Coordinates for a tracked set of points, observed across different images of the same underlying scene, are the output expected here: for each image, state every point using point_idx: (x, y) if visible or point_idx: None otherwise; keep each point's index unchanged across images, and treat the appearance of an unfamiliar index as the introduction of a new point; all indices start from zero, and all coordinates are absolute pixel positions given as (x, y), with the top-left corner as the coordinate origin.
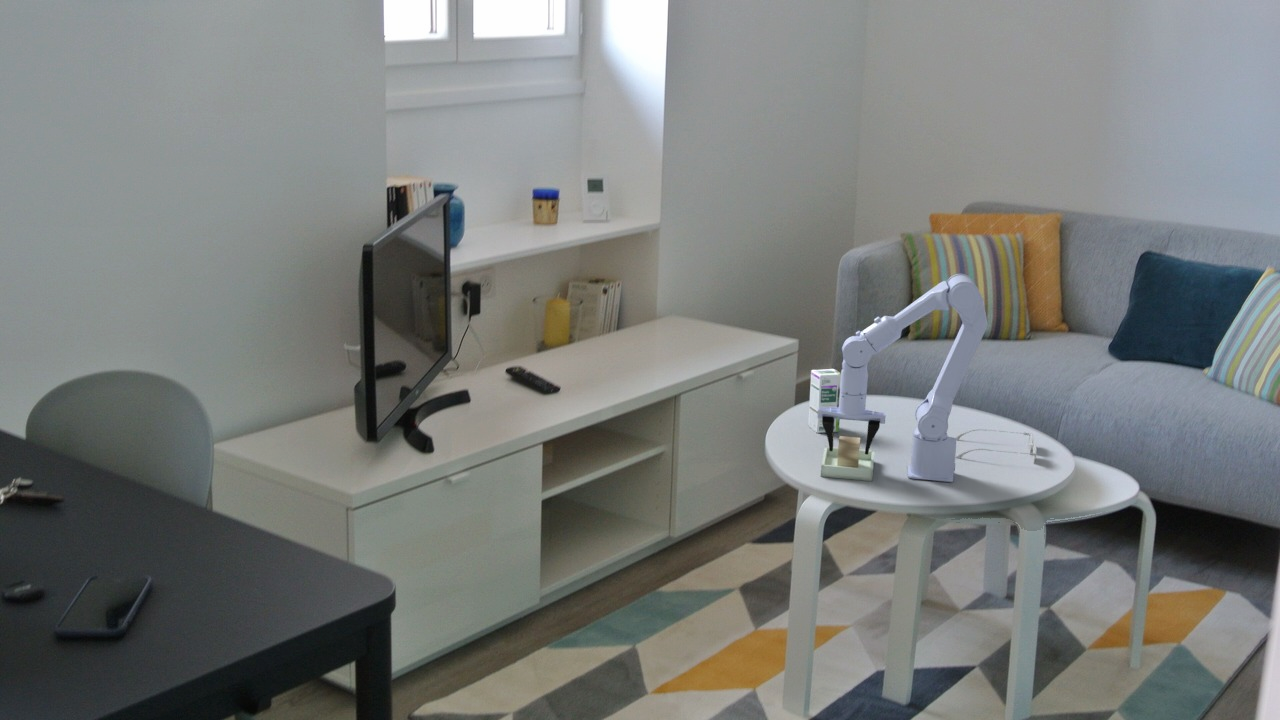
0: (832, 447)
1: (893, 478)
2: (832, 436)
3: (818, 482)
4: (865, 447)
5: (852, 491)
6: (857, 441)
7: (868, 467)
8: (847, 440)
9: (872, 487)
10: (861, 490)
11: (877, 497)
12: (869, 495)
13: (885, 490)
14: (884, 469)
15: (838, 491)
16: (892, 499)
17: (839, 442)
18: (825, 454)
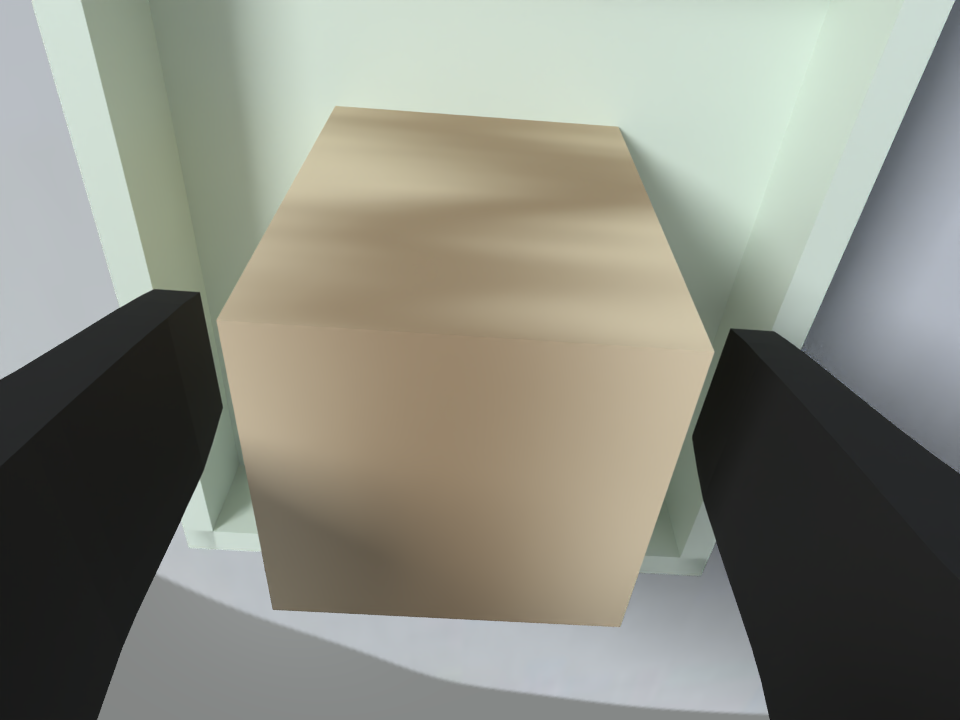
0: (200, 471)
1: (908, 405)
2: (114, 666)
3: (239, 557)
4: (745, 392)
5: (493, 641)
6: (602, 542)
7: (721, 247)
8: (415, 525)
9: (648, 579)
10: (557, 624)
11: (645, 684)
12: (599, 670)
13: (733, 606)
14: (932, 168)
15: (400, 650)
16: (733, 694)
17: (285, 607)
18: (128, 230)
